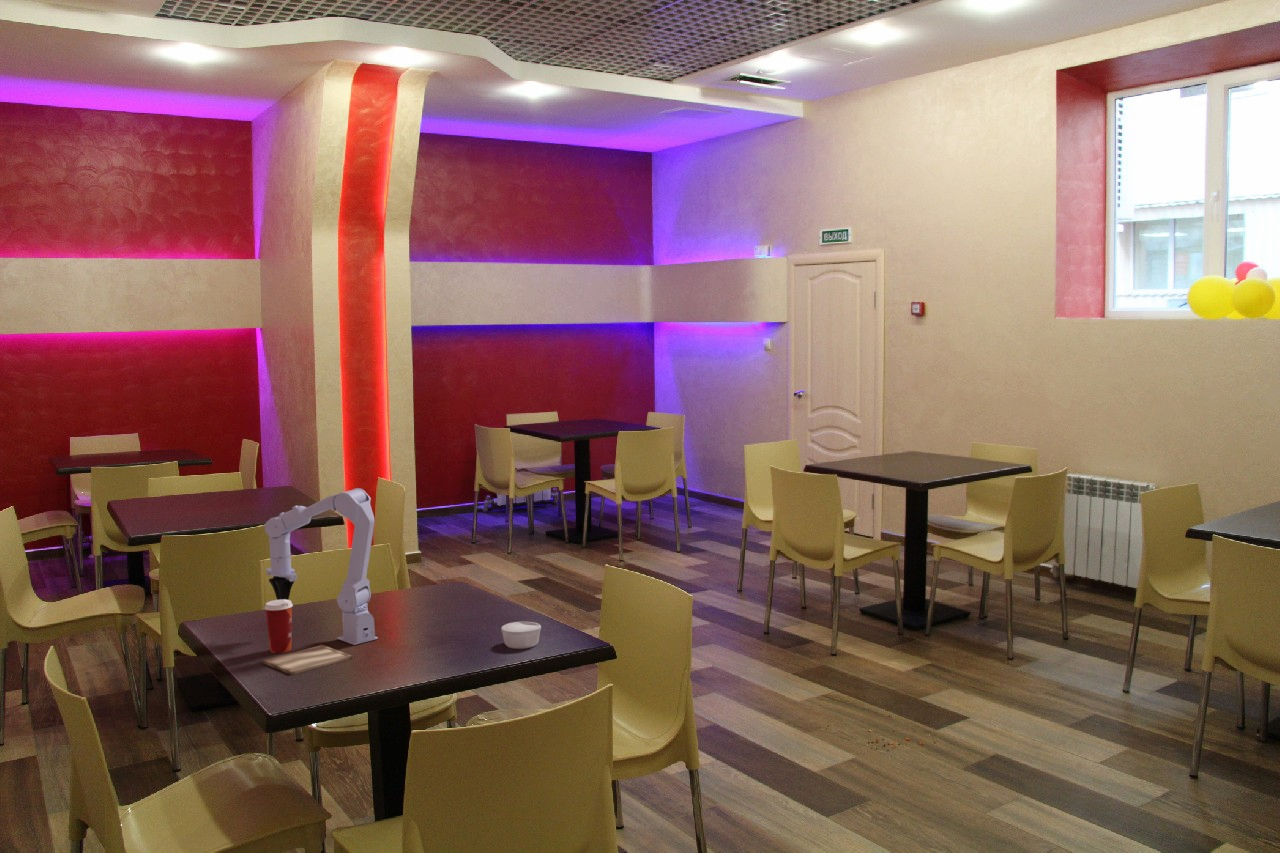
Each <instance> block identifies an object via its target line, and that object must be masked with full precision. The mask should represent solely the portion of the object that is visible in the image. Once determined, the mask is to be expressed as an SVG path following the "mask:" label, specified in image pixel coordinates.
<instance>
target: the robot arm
mask: <svg viewBox="0 0 1280 853" xmlns="http://www.w3.org/2000/svg"><path fill="white" fill-rule="evenodd" d="M371 500H372V498H371V497H370V495H369V494H368V493H367V492H366V491H365V490H364V489H363V488H359V487H357V488H353V489H351V490H347V491H343V492H340V493H335V494H332V495H329V496H327V497H325V498H323V499H321V500H319V501H317V502H316V503H313V504H312V505H310V506H303V505H294V506H292V507H291V510H288V511H285V512H284V511H283V512H280V513H279V515H278V516H275V517H271V518H270V519H269V520H267V521H266V522H265V524H264V531H265V533H266V535H267V536H268V537H269V538H268V539H269V556H270V567H268V568H266V575H267V576H271V577H272V578H269V579H268V582H269V583H270V584H271V586H272V587H271V588H272V589H273V591H274V594H275V597H276V600H281V599H286V600H290V596H291V591H292V590H291V589H292V587H293V585H294V583H295V582H297V581H298V574H297V573H295V572H296V569H294V568H292V556H291V540H290V539H291V532H293V531H295V530H297V529H299V528H301V527H303V526H306V525H308V524H310V522H311V521H312V517H315V516H317V515H320V514H323V513H325V512H326V511H329V510H331V511H333V512H335V511H337V513H339V514H340V515H342V516H343V517H345V518H346V519H348V520H349V521H350V522H351V523H352V524H353V526H354V529H353V536H352V543H351V550H350V557H349V562H348V569H347V576H346V578H345V580H344V582H343V583H342V586H341V589H340V591H339V594H338V595H337V598H336V602H337V606H338V608H339V609H340V610H341V613H342V614H341V615H342V618H341V619H342V636H338V637H337V640H339V641H342V642H345V643H347V644H351V645H353V646H355V645H359V644H363V643H367V642H370V641H375V640H378V639H379V638H378V637H377V636H376V630H375V618H374V616H373V614H371V613H370V611H369V610H368V602H370V600H371V597H372V592H371V589H370V584H371V583H370V582H371V581H370V580H369V579H368V578H367V574H368V569H369V562H370V561H369V560H370V555H371V548H372V541H373V535H374V527H375V515H374V512H373V510H372V505H371Z"/></svg>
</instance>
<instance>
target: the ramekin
mask: <svg viewBox="0 0 1280 853" xmlns="http://www.w3.org/2000/svg"><path fill="white" fill-rule="evenodd" d="M500 629H501V633H502V637H503V643H504V645H505V646H506V647H507V648H510V649H516V650H517V649H520V650H522V649H528V648H529V649H530V648H533V647H535V646H537V645H538V643H539V639H540V633H541V629H542V626H541V624H540V623H537V622H533V621H513V622H509V623H506V624H504V625H502V626H501V628H500Z"/></svg>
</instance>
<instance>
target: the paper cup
mask: <svg viewBox="0 0 1280 853" xmlns="http://www.w3.org/2000/svg"><path fill="white" fill-rule="evenodd" d="M293 606H294V605H293V603H292V600H291V599H289V600H286V599H281V600H277V599H274V600H269V601H267V602H266V603H265V606H264V608H263V609H264V610H265V615H266V622H267V623H266V624H267V625H266V626H267V633H268V640H269V649H270V652H271V654H285V653H288V652H290V651H291V650H292V641H293V640H292V638H293V637H292V633H293V632H292V631H293V630H292V629H293V628H292V623H293V622H292V621H293V619H292V617H293V616H292V614H293V613H292V612H293V610H292V609H293V608H292V607H293Z"/></svg>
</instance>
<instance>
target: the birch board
mask: <svg viewBox="0 0 1280 853" xmlns="http://www.w3.org/2000/svg"><path fill="white" fill-rule="evenodd" d="M352 659H353V656H352V655H351V654H348V653H346V652H344V651H340V650H338V649H335V648H332V647H330V646H327V645H324V644H319V645H316V646H313V647H308V648H305V649H301V650H297V651H293V652H289V653H288V652H287V653H286V654H285V653H283V654H281V655H276V656H272V657H269V658H264V659H262V664H264V665H267V666H269V667H271V668H274V669H276V670H278V671H281V672H283V673H285V674H287V675H290V676H293V675H298V674H300V673H304V672H308V671H311V670H315V669H320V668H323V667H326V666H329V665H330V666H331V665H334V664H339V663H341V662H344V661H349V660H352Z"/></svg>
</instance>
